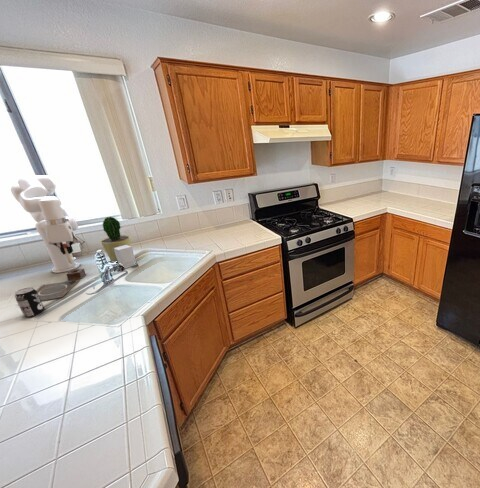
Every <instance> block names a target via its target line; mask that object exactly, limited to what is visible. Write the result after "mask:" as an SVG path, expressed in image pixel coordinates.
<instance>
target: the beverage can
mask: <svg viewBox="0 0 480 488" xmlns="http://www.w3.org/2000/svg"><path fill="white" fill-rule="evenodd" d="M36 290H37V289H34V287H33V286H30V287H24V288H21V289H18V290H16V291H15V292H14V299H15V300H16V303H17V304H18V307H19V309H20V311H21V313H22V315H23V316H24V317H25V318H32V317H33V318H34V317H36V316H38V315H41V314H42V313H44V311H45V307H44V304H43V301H41V300H40V298H39V295H38V293H37V291H36Z"/></svg>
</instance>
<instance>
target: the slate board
mask: <svg viewBox="0 0 480 488" xmlns="http://www.w3.org/2000/svg"><path fill="white" fill-rule="evenodd" d="M80 281H81V279H77V280H70V281H68V280H67V281H63V282H62V281H60V282H54V283H47V284H46V283H45V284H42V285H41V286H39V287H38V288H37V289H35V290H36V291H37V293H38V295H39V298H40V300H41V302H46V301H52V300H58V299H63V298H64V297H65V296H66V295H67V294H68V293H69V292H70V291H71V290H72V289H73V288H74V287H75V286H76V285H78V283H79V282H80Z"/></svg>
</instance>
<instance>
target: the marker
mask: <svg viewBox="0 0 480 488" xmlns="http://www.w3.org/2000/svg"><path fill="white" fill-rule="evenodd" d="M62 245H63V248H64V250H65V253H66V256H67V259H68V261H69V263H70V264H73V263H72V262H73V260H72V257H71V254H69V253H68V251H67V248H66V247H67V244H66V243H65V244H62Z"/></svg>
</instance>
